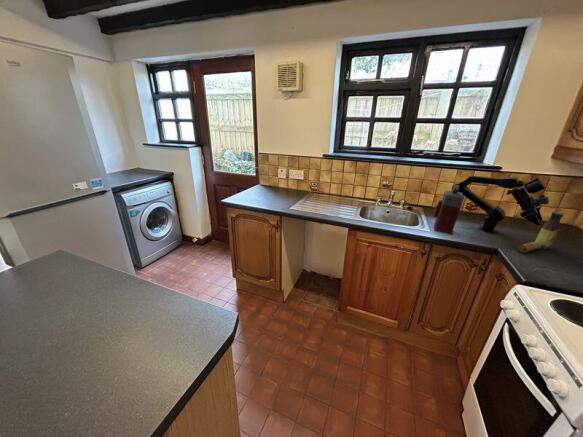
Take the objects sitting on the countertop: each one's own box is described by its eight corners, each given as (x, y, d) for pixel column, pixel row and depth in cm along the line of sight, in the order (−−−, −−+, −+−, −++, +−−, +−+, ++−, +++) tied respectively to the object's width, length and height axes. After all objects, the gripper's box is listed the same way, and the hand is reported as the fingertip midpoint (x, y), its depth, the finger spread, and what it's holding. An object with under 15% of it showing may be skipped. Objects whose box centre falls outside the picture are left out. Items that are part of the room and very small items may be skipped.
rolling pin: (523, 254, 123) (526, 248, 122) (514, 250, 127) (517, 244, 125) (541, 249, 129) (545, 243, 127) (532, 246, 132) (535, 239, 130)
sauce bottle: (549, 251, 128) (568, 216, 120) (533, 247, 131) (551, 213, 123) (547, 246, 132) (565, 212, 124) (532, 242, 136) (549, 209, 128)
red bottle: (429, 224, 153) (442, 181, 142) (450, 228, 149) (465, 184, 137) (430, 230, 146) (443, 185, 135) (451, 234, 141) (467, 188, 130)
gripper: (538, 193, 121) (558, 221, 118) (543, 187, 132) (562, 212, 129) (512, 203, 130) (530, 229, 126) (519, 197, 141) (535, 220, 138)
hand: (540, 222), depth 130 cm, fingers open, 9 cm apart
